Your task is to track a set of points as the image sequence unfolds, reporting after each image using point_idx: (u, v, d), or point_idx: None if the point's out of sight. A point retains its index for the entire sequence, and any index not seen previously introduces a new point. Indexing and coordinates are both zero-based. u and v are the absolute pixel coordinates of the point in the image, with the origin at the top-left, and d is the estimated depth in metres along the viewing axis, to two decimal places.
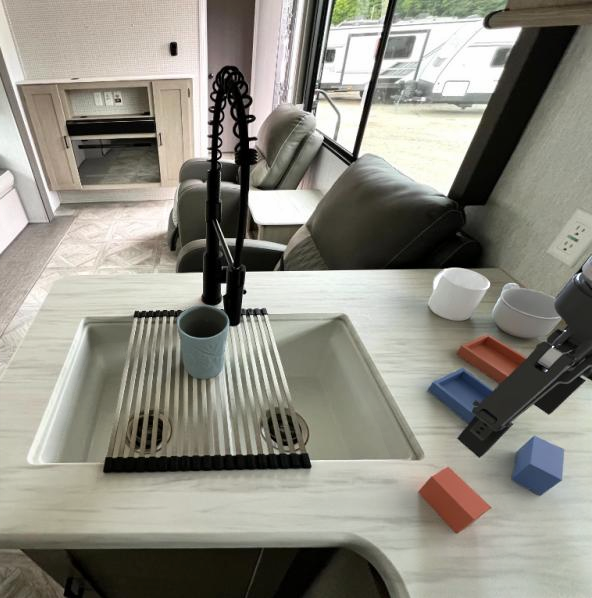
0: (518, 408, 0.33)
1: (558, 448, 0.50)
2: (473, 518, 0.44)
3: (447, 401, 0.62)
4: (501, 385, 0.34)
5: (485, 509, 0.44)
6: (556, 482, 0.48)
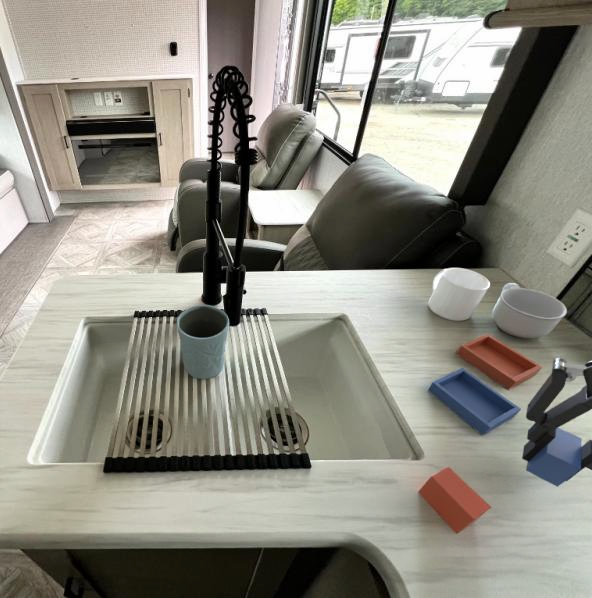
0: (536, 402, 0.46)
1: (575, 437, 0.48)
2: (473, 518, 0.44)
3: (447, 401, 0.62)
4: (540, 388, 0.47)
5: (485, 509, 0.44)
6: (574, 472, 0.45)
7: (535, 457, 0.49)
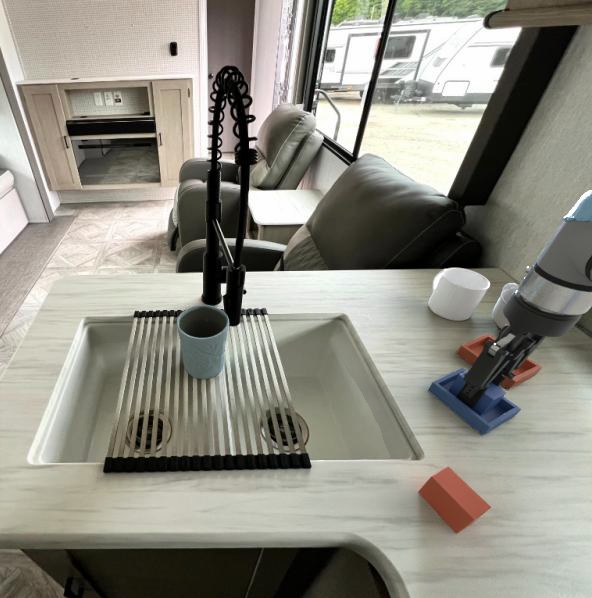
0: (485, 378, 0.53)
1: None
2: (473, 518, 0.44)
3: (447, 401, 0.62)
4: (473, 365, 0.54)
5: (485, 509, 0.44)
6: (503, 396, 0.58)
7: (479, 404, 0.59)
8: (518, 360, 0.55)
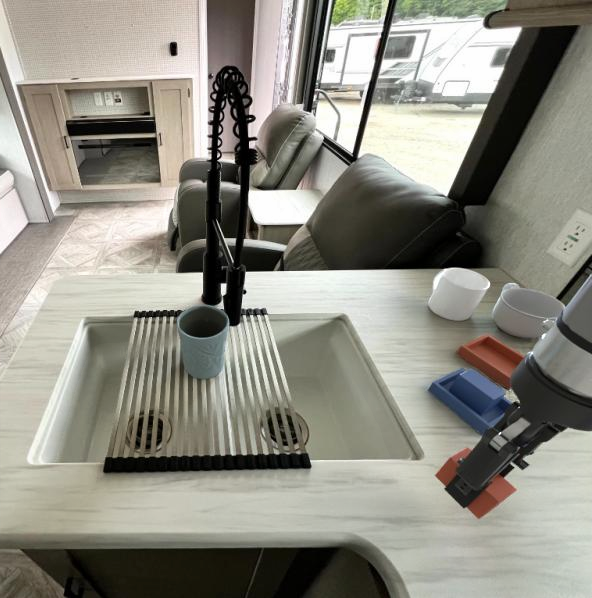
0: (486, 478, 0.36)
1: (471, 370, 0.62)
2: (498, 501, 0.40)
3: (447, 401, 0.62)
4: (469, 456, 0.38)
5: (510, 491, 0.41)
6: (503, 396, 0.58)
7: (479, 404, 0.59)
8: None
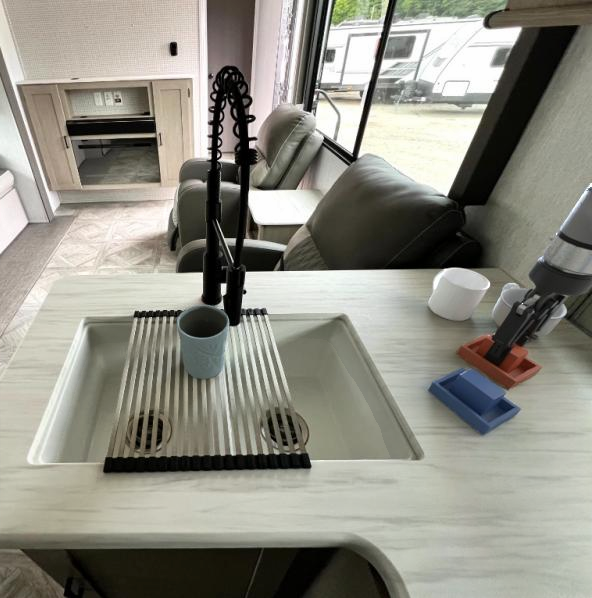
0: (512, 336, 0.60)
1: (471, 370, 0.62)
2: (518, 357, 0.64)
3: (447, 401, 0.62)
4: (502, 325, 0.61)
5: (525, 352, 0.65)
6: (503, 396, 0.58)
7: (479, 404, 0.59)
8: (541, 321, 0.62)
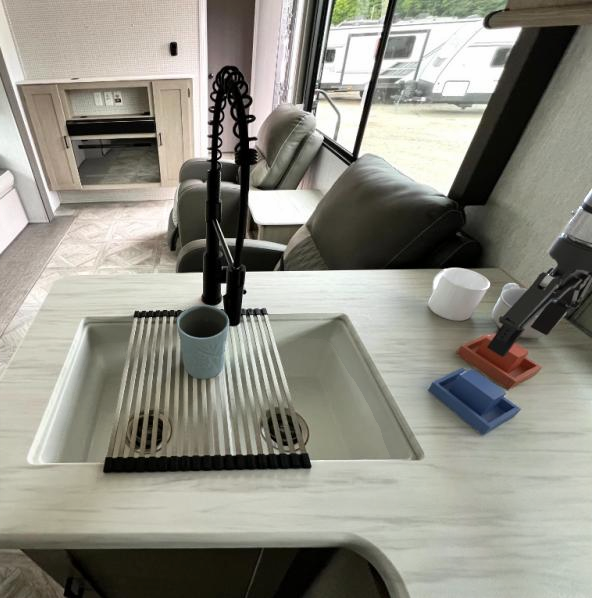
0: (528, 314, 0.55)
1: (471, 370, 0.62)
2: (518, 357, 0.64)
3: (447, 401, 0.62)
4: (517, 302, 0.56)
5: (525, 352, 0.65)
6: (503, 396, 0.58)
7: (479, 404, 0.59)
8: (575, 294, 0.59)
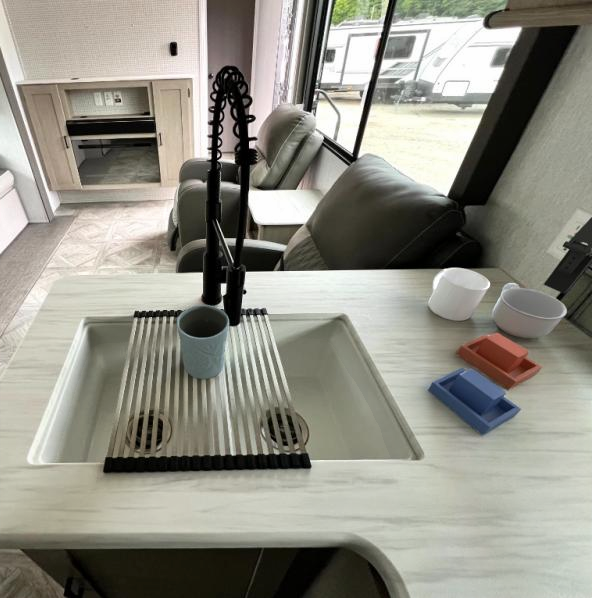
0: None
1: (471, 370, 0.62)
2: (518, 357, 0.64)
3: (447, 401, 0.62)
4: (590, 219, 0.46)
5: (525, 352, 0.65)
6: (503, 396, 0.58)
7: (479, 404, 0.59)
8: None
